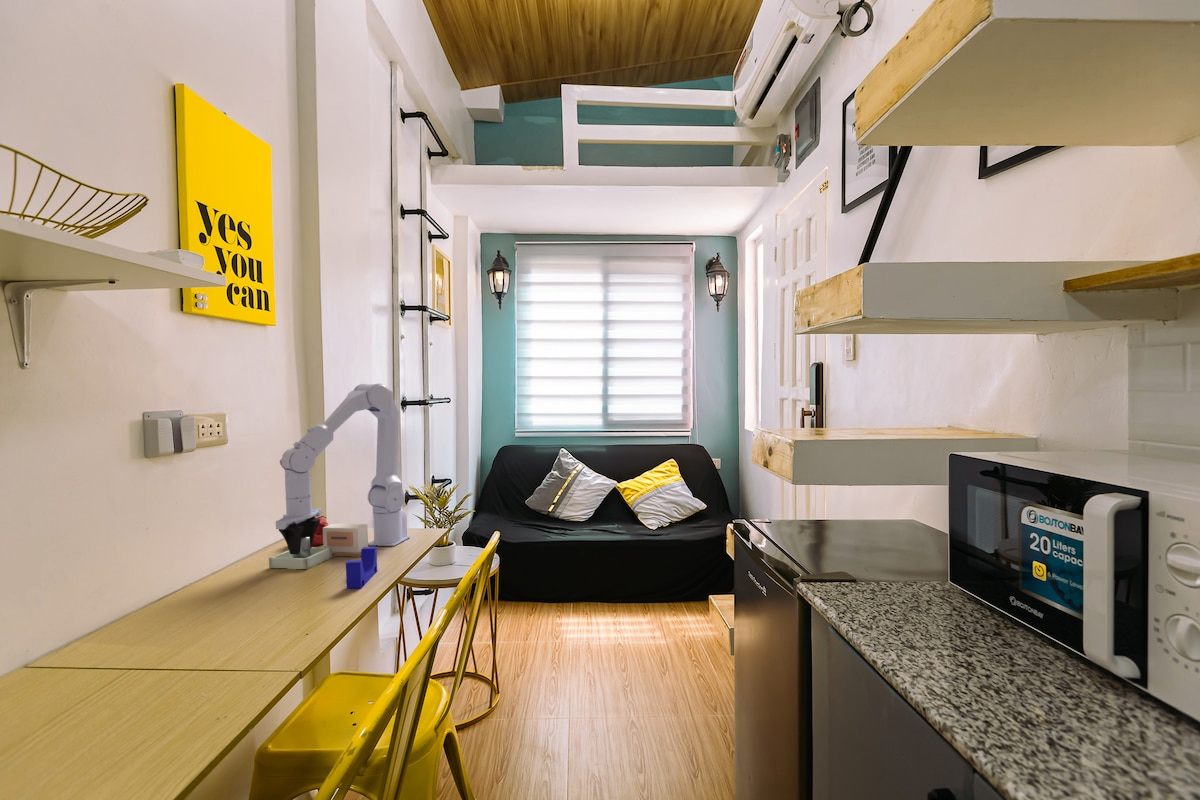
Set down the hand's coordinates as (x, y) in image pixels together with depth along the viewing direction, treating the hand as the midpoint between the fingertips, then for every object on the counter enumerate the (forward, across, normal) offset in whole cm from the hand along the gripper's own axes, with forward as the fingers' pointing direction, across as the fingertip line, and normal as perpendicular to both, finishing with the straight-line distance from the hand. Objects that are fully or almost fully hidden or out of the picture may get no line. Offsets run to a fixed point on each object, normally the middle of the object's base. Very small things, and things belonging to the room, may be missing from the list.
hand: (301, 551), depth 151 cm
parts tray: (+3, 0, 0) cm, 3 cm away
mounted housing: (+3, -9, +6) cm, 11 cm away
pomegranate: (+3, -17, -9) cm, 19 cm away
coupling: (+2, 0, 0) cm, 2 cm away
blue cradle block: (+3, +11, +22) cm, 25 cm away
